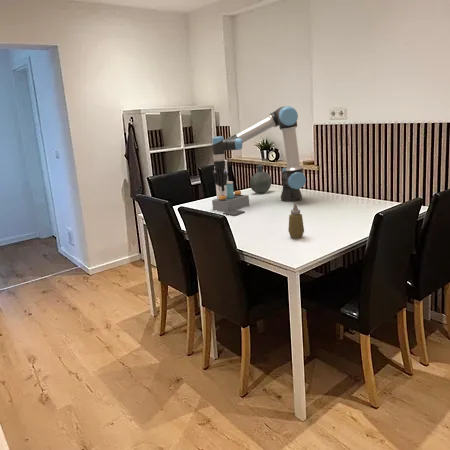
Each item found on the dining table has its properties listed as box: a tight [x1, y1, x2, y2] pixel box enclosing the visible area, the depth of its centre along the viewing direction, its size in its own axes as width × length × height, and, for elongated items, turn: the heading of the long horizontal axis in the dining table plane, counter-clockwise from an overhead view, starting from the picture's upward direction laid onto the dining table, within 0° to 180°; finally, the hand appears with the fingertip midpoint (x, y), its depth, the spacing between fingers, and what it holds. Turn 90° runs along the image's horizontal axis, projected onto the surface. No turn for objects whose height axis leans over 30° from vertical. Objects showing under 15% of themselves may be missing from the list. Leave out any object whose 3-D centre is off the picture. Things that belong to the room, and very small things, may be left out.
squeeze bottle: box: [288, 202, 305, 240], centre depth 225 cm, size 8×8×18 cm
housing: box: [211, 193, 250, 213], centre depth 303 cm, size 14×22×7 cm, turn 138°
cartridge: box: [226, 180, 235, 199], centre depth 301 cm, size 5×5×18 cm
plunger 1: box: [219, 195, 226, 201], centre depth 297 cm, size 5×5×9 cm
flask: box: [249, 164, 272, 194], centre depth 340 cm, size 12×17×22 cm
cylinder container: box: [213, 159, 229, 199], centre depth 326 cm, size 9×9×30 cm
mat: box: [222, 209, 246, 217], centre depth 287 cm, size 10×10×1 cm
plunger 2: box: [234, 190, 242, 196], centre depth 308 cm, size 5×5×9 cm
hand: (222, 195), depth 295 cm, fingers closed
